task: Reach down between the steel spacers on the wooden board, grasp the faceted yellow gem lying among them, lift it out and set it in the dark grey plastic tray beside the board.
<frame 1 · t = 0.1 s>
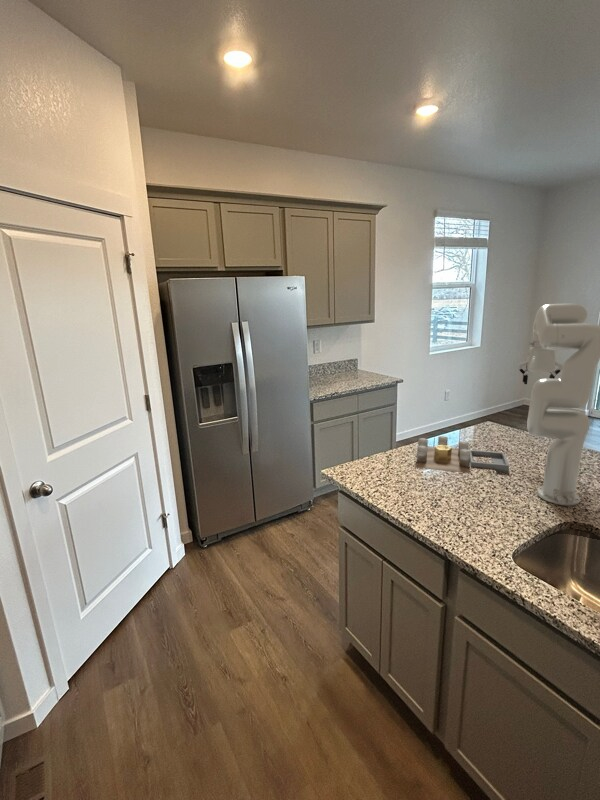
hand: (537, 384, 170), 31 cm above the worktop, tool pointing down, fingers open, 9 cm apart
faceted yellow gem: (442, 458, 169), point 1 cm above the worktop, touching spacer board
tray: (487, 463, 165), on the worktop
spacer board: (442, 460, 170), on the worktop
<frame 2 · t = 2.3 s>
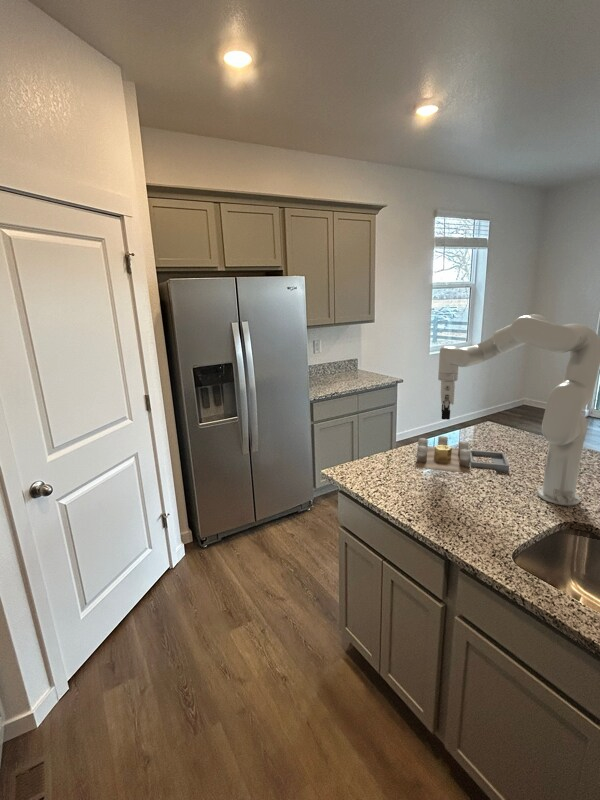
hand: (445, 415, 165), 20 cm above the worktop, tool pointing down, fingers open, 9 cm apart
nothing on the worktop moved.
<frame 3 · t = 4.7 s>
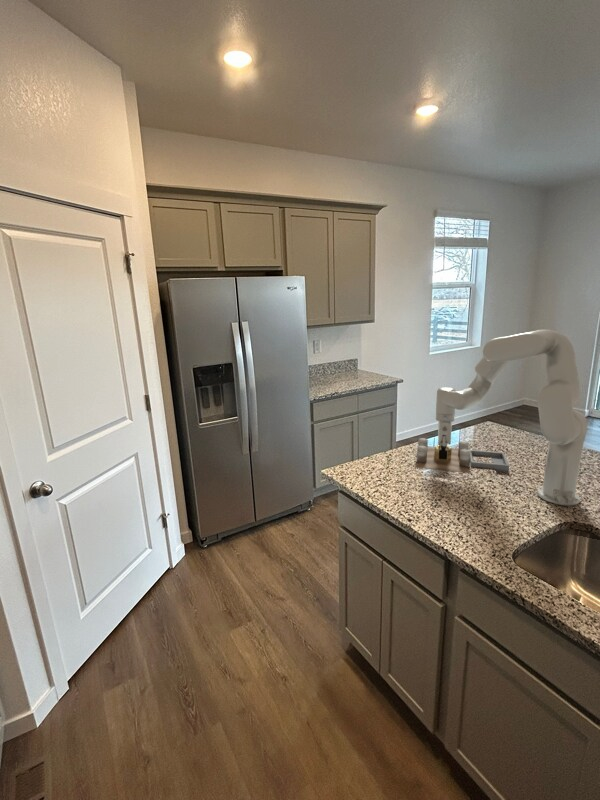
hand: (442, 455, 169), 2 cm above the worktop, tool pointing down, fingers closed on faceted yellow gem, 6 cm apart
faceted yellow gem: (442, 458, 169), point 1 cm above the worktop, touching gripper, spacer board
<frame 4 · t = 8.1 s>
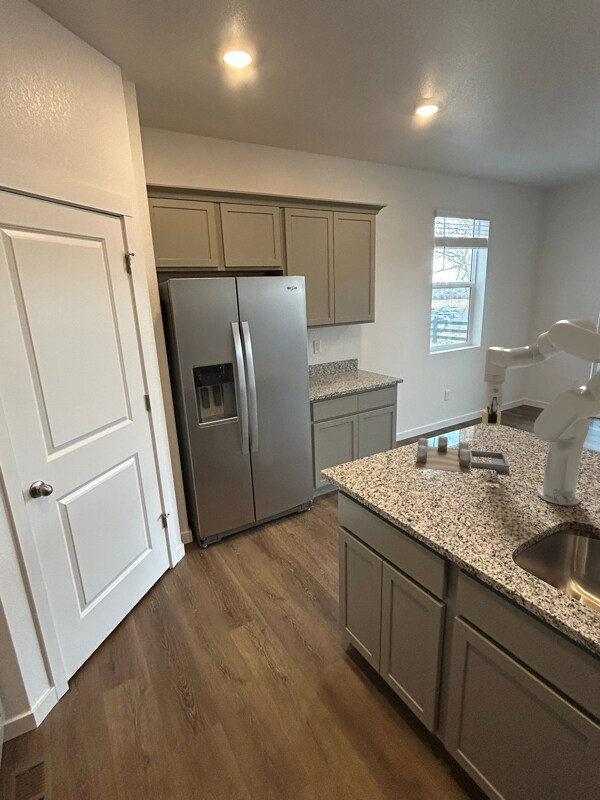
hand: (491, 420, 160), 19 cm above the worktop, tool pointing down, fingers closed on faceted yellow gem, 6 cm apart
faceted yellow gem: (490, 423, 160), point 18 cm above the worktop, touching gripper
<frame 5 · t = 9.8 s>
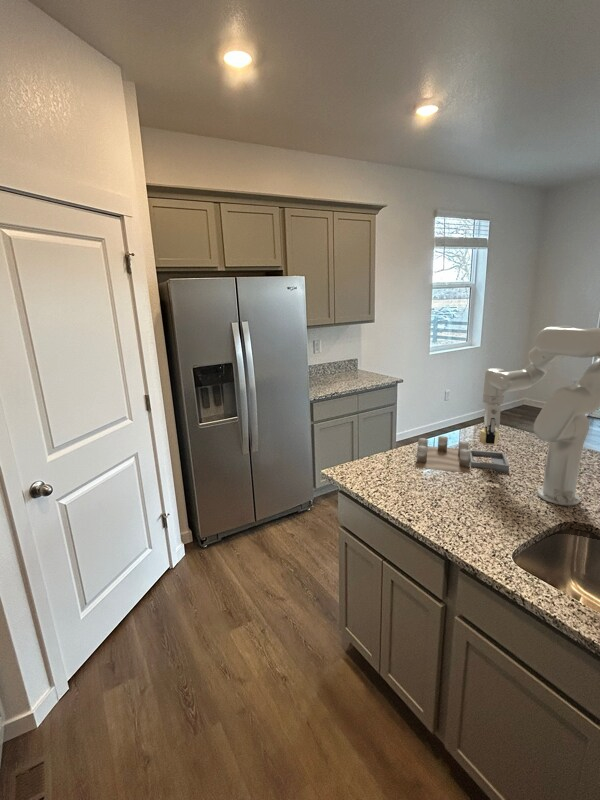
hand: (488, 440, 162), 11 cm above the worktop, tool pointing down, fingers closed on faceted yellow gem, 6 cm apart
faceted yellow gem: (488, 442, 163), point 10 cm above the worktop, touching gripper
when the fingers open (4 cm above the worktop, at t = 11.6 s): faceted yellow gem drops 2 cm, resting on tray.
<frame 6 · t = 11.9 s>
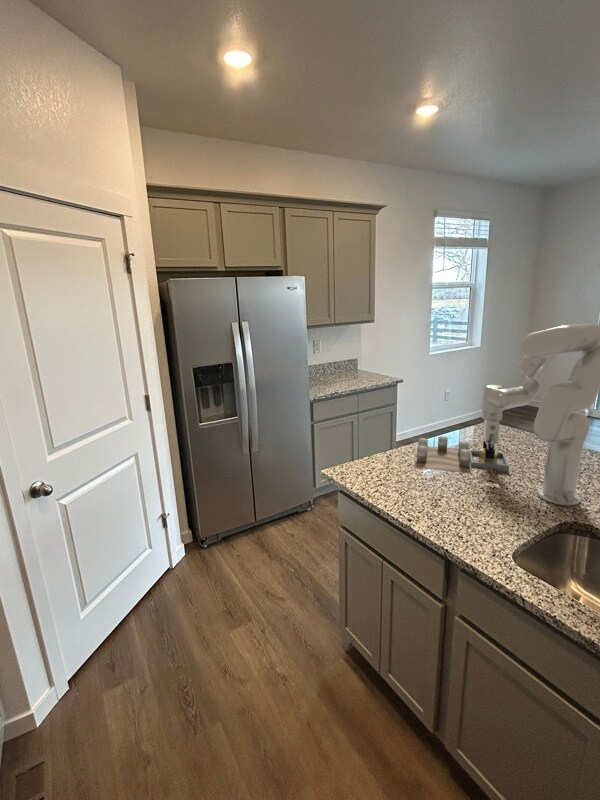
hand: (488, 453, 164), 5 cm above the worktop, tool pointing down, fingers open, 9 cm apart
faceted yellow gem: (487, 461, 164), point 1 cm above the worktop, touching tray
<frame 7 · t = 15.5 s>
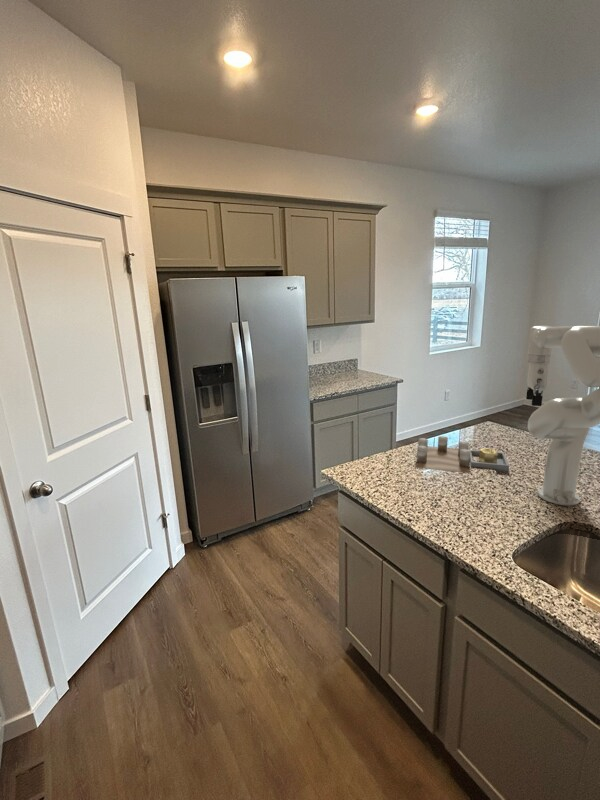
hand: (533, 402, 151), 28 cm above the worktop, tool pointing down, fingers open, 9 cm apart
nothing on the worktop moved.
at the end: faceted yellow gem inside the target area on the tray (0.1 cm from its centre), point 1.0 cm above the tray's base; faceted yellow gem tilted 0°; the gripper is holding nothing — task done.
